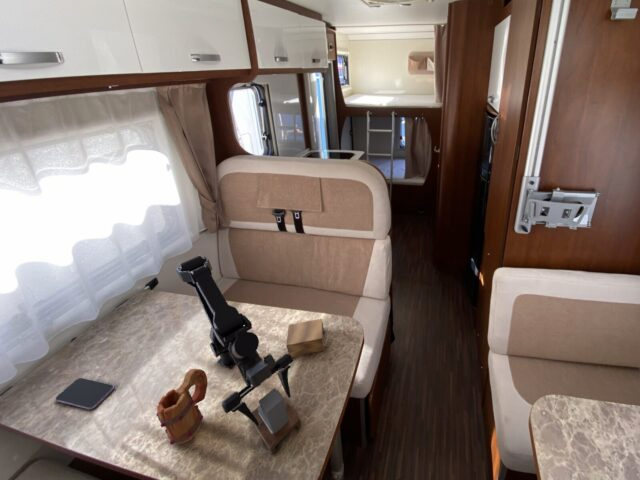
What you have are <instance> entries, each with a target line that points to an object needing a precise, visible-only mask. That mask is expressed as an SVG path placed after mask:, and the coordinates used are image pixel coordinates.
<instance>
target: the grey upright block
mask: <svg viewBox="0 0 640 480" xmlns="http://www.w3.org/2000/svg"><path fill="white" fill-rule="evenodd" d="M277 391H278V389H276V388H275V387H273V388H272V389H271V390H270V391H268V392H267V393H266V394H265V395H264V396H263V397H261V398H260V399H259V400H258V404H259V405H258V406H257V407H258V408H257V407H256V408H257V409H258V411H259V415H260V416H261V418H262V419H263V421H264V422H265V424H266V425H267V427H268V428H269V430H270V431H271V433H272V434H274V435H275V434H276V433H277V432H278V431H279V430H280V429H281V428H282V427H283V426H284V425H285V424H286V423H287V422H289V418H288V414H287V411H286V407H285V404H284V401H283V398H284V397H283V398H282V397H281V395H282V394H281V393H280V394H281V395H280V394H279V393H278V392H277Z"/></svg>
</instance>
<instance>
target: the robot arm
mask: <svg viewBox="0 0 640 480" xmlns="http://www.w3.org/2000/svg"><path fill="white" fill-rule="evenodd" d="M212 270H213V266H212V264H211V262H210V259H209V258H208V257H207V256H201V255H200V254H199V255H196V256H194V257H192V258H189V259H187V260H185V261H182V262H180V263H178V267H177V268H176V269H175V271H176V273H177V275H178V277H179V279H180V280H181V281H182V282H183V283H185V284H187V285H189V286H191V287H193V291H194V292H195V294H196V296H197V299H198V300H199V302H200V305H201V308H202V310H203V311H204V313H205V314H204V315H205V316H206V318H207V320H208V323H209V325H210V331H209V339H210V341H211V342H210V343H209V344H208V345H209V348H210V350H211V352H212V353H213V355H214V356H215V358H219V359H218V360H217V361H216V363H217V365H220V366H222V367H223V368H224V367H225V368H226V369H230V370H231V369H234V366H235V365H236V366H235V367H236V368H237V370H238V371H239V373H240V375H241V377H242V379H243V382H244V383H245V385H246V386H245V387H243V388H242V389H240V390H239V391H237V390H235V391H233V392H232V393H231V394H229V395H228V396H227V397H226V398H225V399H223V400H222V401H221V403H220V404H221V408H222V409H223V412H224V413H225V414H229V413H230V412H231V413H234V414H235V413H236V412H237V411H238V412H239V413H241V414H243V415H244V416H246V417H247V418H248V419H249V420H250V421H251V423H252V422H254V423H255V424H256V425H257V426H258V425H259V423H258V421H257V419H256V418H255V416H254V415H253V414H252V412H253V411H251V410H250V408H249V406H248V405H247V403H246V402H245V401H243V398H245V397H246V396H247V395H249V394H250V393H251V392H252V391H253V390H255V389H256V388H258V387H260V386H261V385H262V384H263V383H264V382H265V381H267V380H268V379H270V378H271V377H272V376H273V375H274V374H275V373H276V372H277V373H276V375H277V377H278V379H279V382H280V383H281V386H282V388H283V390H284V392H285V394H286V396H287V398H288V399H290V398H291V397H292V395H291V390H290V383H289V369H291V368H292V365H290V364H293V362H294V361H295V360H294V359H293V358H294V357H291V355H290V354H288V353H285V354H282V355H281V356H279V358H277V359H276V360H275V358H274V357H273V355H272V353H268V354H267V355H265V356H264V357H263V359H262V357H261V356H260V355H259V352H258V348H259V346H260V339H259V336H258V335H257V334H255V333H254V332H252V331H250V330H252V328H253V324H252V321H251V320H250V319H249V317H247V316H246V315H245V314H243V313H242V312H239V310H238V309H237V308H236V307H235V306H233V305H230V304H229V303H228V301H227V300H226V298H225V297H224V295H223V293H222V291H221V290H220V288H219V286H218V285H217V282H216V281H215V279H214V278H213V274H212V273H213V272H212Z"/></svg>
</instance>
